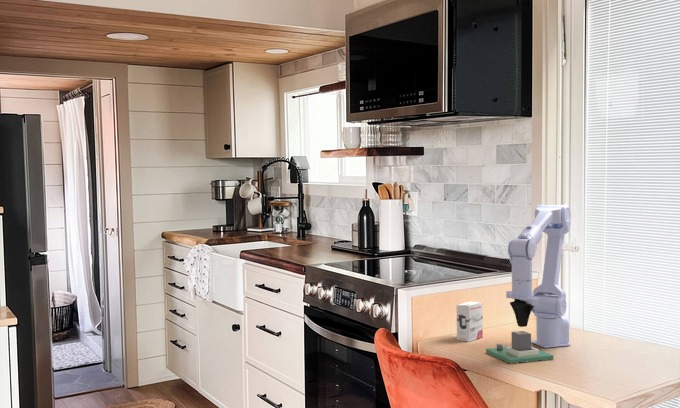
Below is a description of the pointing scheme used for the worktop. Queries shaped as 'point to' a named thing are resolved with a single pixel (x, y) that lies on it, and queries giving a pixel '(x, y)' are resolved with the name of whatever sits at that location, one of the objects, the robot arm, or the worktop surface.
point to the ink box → (469, 321)
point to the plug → (521, 340)
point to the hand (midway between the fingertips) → (522, 326)
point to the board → (518, 354)
